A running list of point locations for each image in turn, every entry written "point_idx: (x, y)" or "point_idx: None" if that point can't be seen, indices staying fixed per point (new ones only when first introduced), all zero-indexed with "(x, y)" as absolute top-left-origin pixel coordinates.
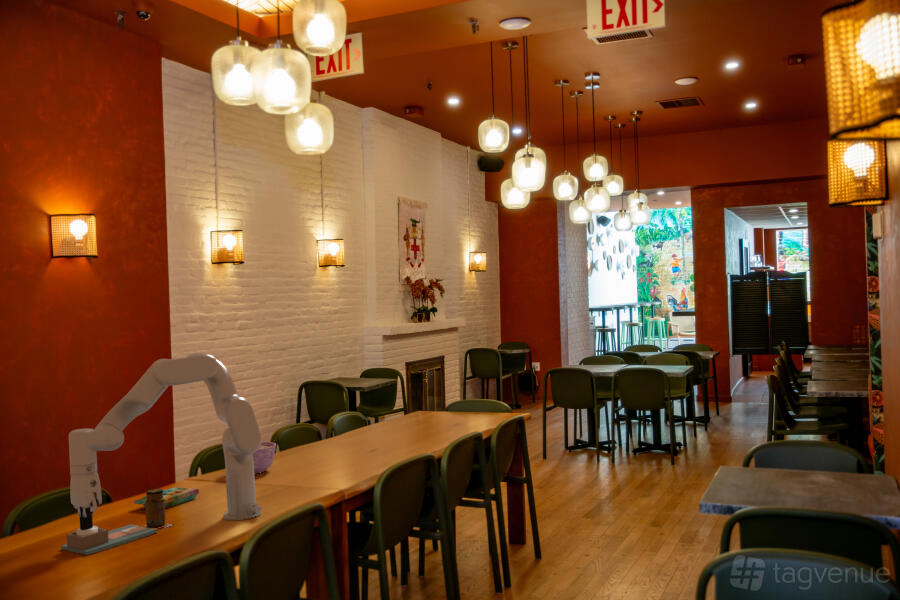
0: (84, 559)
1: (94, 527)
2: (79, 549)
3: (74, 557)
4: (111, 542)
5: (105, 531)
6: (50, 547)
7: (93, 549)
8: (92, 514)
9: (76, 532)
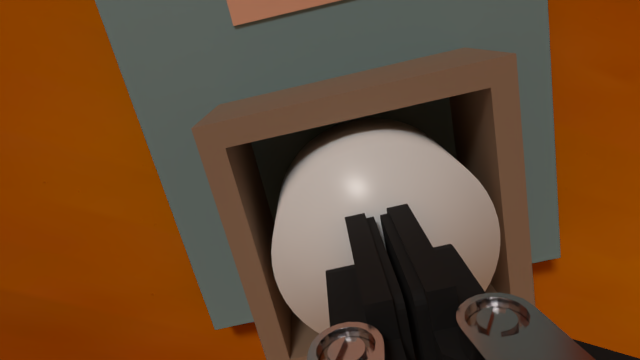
0: (602, 278)
1: (414, 183)
2: None
3: None
4: (506, 33)
5: (513, 84)
6: (98, 342)
7: (551, 208)
8: (522, 310)
9: None
